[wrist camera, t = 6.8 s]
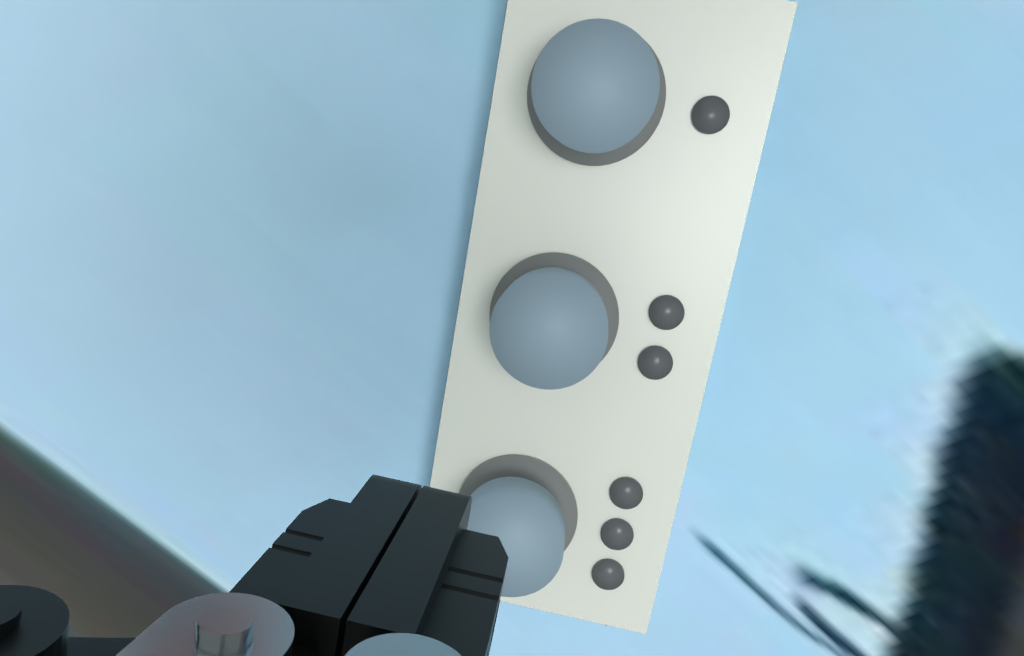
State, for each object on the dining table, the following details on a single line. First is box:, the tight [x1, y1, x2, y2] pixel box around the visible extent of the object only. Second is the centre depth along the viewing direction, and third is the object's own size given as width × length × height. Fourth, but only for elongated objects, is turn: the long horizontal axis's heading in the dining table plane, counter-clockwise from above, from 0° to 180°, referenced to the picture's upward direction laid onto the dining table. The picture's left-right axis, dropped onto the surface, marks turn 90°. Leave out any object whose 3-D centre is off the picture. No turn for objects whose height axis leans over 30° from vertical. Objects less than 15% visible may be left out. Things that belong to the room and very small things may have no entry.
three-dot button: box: [467, 477, 566, 597], centre depth 35 cm, size 5×5×2 cm
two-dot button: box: [489, 267, 608, 390], centre depth 32 cm, size 5×5×2 cm
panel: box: [430, 0, 798, 634], centre depth 36 cm, size 12×30×3 cm, turn 170°
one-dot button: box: [531, 18, 660, 153], centre depth 30 cm, size 5×5×2 cm
